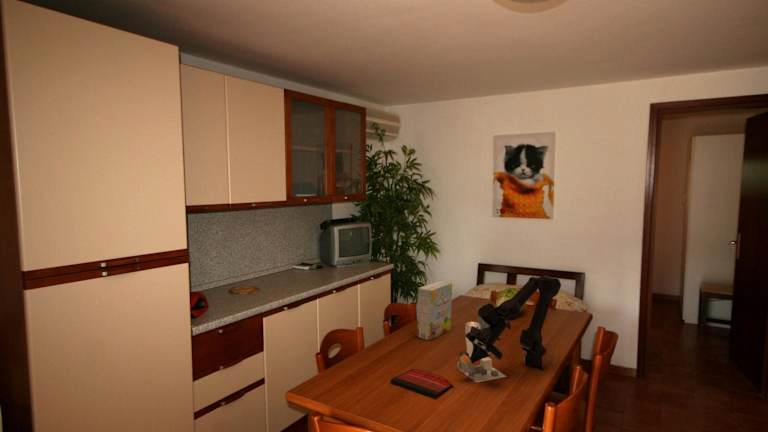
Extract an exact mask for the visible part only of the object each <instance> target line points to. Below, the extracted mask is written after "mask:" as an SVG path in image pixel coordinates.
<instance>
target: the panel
mask: <svg viewBox="0 0 768 432" xmlns="http://www.w3.org/2000/svg"><path fill="white" fill-rule="evenodd" d="M473 366H474V368H475V369H476V371H477V372H478V373H477V374H474V377H473V376H472V375H471V374H470V373H469V371H468V369H467V368H466V366H463V367H461V366H460V361H459V362H457V369H458V370H459V371H460V372H461V373H463V375H466V376H467V377H469V379H470V380H472V381H473V382H475V383H480V382H486V381H487V382H488V381H491V380H492V381H493V380H496V379H501V378H506V377H507V375H505V374H503V373H502V372H500V371H499V370H497V369H496V368H494V367H493V366H492V369H489V370H486V369H484V368H483V367H481V366H480V364H479V365H473Z"/></svg>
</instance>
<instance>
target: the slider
mask: <svg viewBox="0 0 768 432" xmlns="http://www.w3.org/2000/svg"><path fill="white" fill-rule="evenodd" d="M479 361H480V363H479V365H480V366H481V367H483V368H484V369H486V370H489V369H492V367H493V359H492V358H490V357H489V356H488V357H485V358H483V359H481V360H479Z"/></svg>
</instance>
